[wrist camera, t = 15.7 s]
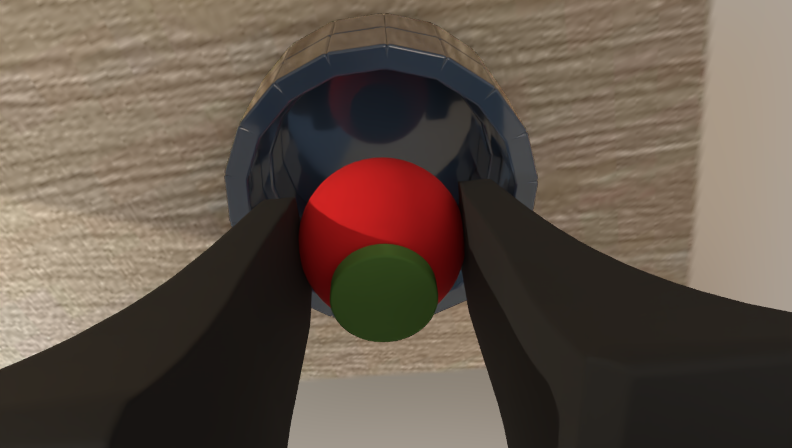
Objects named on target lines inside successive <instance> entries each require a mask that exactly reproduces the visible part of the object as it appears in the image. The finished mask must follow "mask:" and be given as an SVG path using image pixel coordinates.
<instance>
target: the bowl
mask: <svg viewBox="0 0 792 448" xmlns="http://www.w3.org/2000/svg"><path fill="white" fill-rule="evenodd" d="M383 157H385V158H395V159H400V160H404V161H407V162H410V163H413V164H415V165H417V166H419V167H421V168H423V169H425V170H427V171H428V172H430V173H431V174H433V175H434V176H435V177H436V178H437V179H438V180H440V181H441V182H442V183H443V185H444V186H445V187H446V188H447V189H448V191H449V192H450V193H451V195H452V196H453V198H454V199H455V201H456V203H457V205H458V208H459V191H458V182H459V181H470V180H480V179H491V180H493V181H494V182H495V183H497V184H498V185H499V186H501V187H502V188H503V189H504V190H506V191H507V192H508V193H509V194H511V195H512V196H513V197H515V198H516V199H517V200H519V201H520V202H521V203H522V204H524V205H525V206H527V207H528V208H529V209H531V210H532V211H533V208H534V203H535V197H536V191H537V185H538V181H537V179H538V175H537V171H536V167H535V162H534V158H533V153H532V149H531V144H530V140H529V135H528V133H527V131H526V128H525V126H524V125H523V123H522V121H521V120H520V118H519V116H518V115H517V113H516V112H515V110H514V108H513V107H512V105H511V103H510V102H509V100H508V98H507V97H506V95H505V94H504V92H503V90H502V89H501V87H500V85H499V84H498V83H497V81H496V80H495V78H494V77H493V76H492V74H491V73H490V71H489V70H488V68H487V67H486V66H485V64H484V63H483V61H482V60H481V59H480V57H479V56H478V54H477V53H476V52H475V51H473V49H472V48H471V47H469V46H468V45H466V44H465V43H463V42H461V41H460V40H458V39H457V38H455V37H454V36H452V35H451V34H449V33H448V32H446V31H445V30H443V29H442V28H440V27H439V26H437V25H433V24H432V23H430V22H426V21H421V20H416V19H412V18H407V17H403V16H398V15H393V14H389V13H385V14H382V13H379V14H373V15H366V16H360V17H353V18H346V19H340V20H337V21H335V22H334V21H332V22H330V23H328V24H326V25H325V26H323V27H321V28H319V29H318V30H316V31H314V32H312V33H311V34H309V35H307V36H305V37H304V38H302V39H300V40H298V41H297V42H295V43H293V44H292V46H291V47H289V48H288V49H287V50H286V52H285V53H284V54H283V55H282V57H281V58H280V59H279V60H278V62H277V63H276V64H275V65H274V67H273V68H272V69H271V70H270V72H269V73H268V74H267V75H266V77H265V78H264V79H263V81H262V83H261V85H260V86H259V88H258V90H257V92H256V94H255V96H254V98H253V99H252V101H251V103H250V105H249V107H248V108H247V110H246V112H245V114H244V116H243V118H242V119H241V121H240V123H239V125H238V127H237V130H236V134H235V137H234V141H233V144H232V148H231V151H230V155H229V158H228V162H227V165H226V168H225V176H224V179H225V188H226V196H227V204H228V213H229V220H230V222H231V226H232V227H233V226H234V225H236V224H237V223H238V222H239V221H240V220H241V219H242V218H243V217H244V216H245V215H246V214H248V213H249V212H250V211H251V210H252V209H253V208H254V207H255V206H257V205H258V204H259V203H260V202H262V201H263V200H268V199H279V198H289V197H295V198H296V203H297V208H298V213H299V218H300V221H301V218H302V215H303V212H304V210H305V207H306V205H307V203H308V201H309V199H310V197H311V196H312V195H313V193H314V192H315V191H316V189H317V188H318V186H319V185H320V184H321V183H322V182H323V181H324V180H325V179H326V178H328V177H329V176H330V175H332V174H333V173H334V172H336V171H337V170H339V169H341V168H342V167H344V166H346V165H349V164H351V163H353V162H356V161H360V160H363V159H370V158H383ZM466 300H467V298H466V293H465V287H464V281H463V275H462V269H461V270H460V273H459V275H458V278H457V280H456V281H455V283H454V285H453V286H452V288H451V289H450V291H449V292H448V293H447V295H446V296H445V297H444V298H443V299H442V300H441V301H440V302H439V303H438V304H437V308H436V311H435V313H434V314H436V313H438V312H441V311H443V310H445V309H448V308H450V307H452V306H455V305H457V304H459V303H462V302H464V301H466ZM311 308H313V309H315V310H317V311H319V312H322V313H324V314H326V315H328V316H333V317H334V315H333V312H332V310H331V308H330V307H329V306H328V305H327V304H326V303H324V302H323V301H322V299H321V298H320V297H319V296H318V295H317V294H316V292H315V291H314V290H313V288H312V301H311ZM334 318H335V317H334Z"/></svg>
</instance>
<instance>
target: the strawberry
mask: <svg viewBox="0 0 792 448" xmlns="http://www.w3.org/2000/svg"><path fill="white" fill-rule="evenodd" d="M299 253H300V259H301V264H302V268H303V271H304V273H305V275H306V278H307V280H308V282H309V284H310V285H311V287H312V288H313V290H314V291H315V292H316V294H317V295H318V296H319V297H320V298H321V299H322V301H323V302H324V303H326V304H327V305H328V306H329V307H330V308H331V310H332V312H333V315H334V317H335V318H336V320H337V321H338V323H339V324H340V325H341V326H342V327H343V328H344V329H345V330H347V331H348V332H349V333H351V334H353V335H355V336H357V337H359V338H362V339H365V340H368V341H374V342H392V341H398V340H402V339H405V338H407V337H410V336H412V335H414V334H415V333H417V332H419V331H420V330H421V329H422V328H424V327H425V326H426V325H427V324H428V323H429V321H430V320H431V318H432V317H433V315H434V313H435V311H436V308H437V304H438V303H439V302H440V301H441V300H442V299H443V298H444V297H445V296H446V295H447V293H448V292H449V291H450V289H451V288H452V286H453V285H454V283H455V281H456V280H457V278H458V275H459V273H460V270H461V267H462V264H463V261H464V255H465V251H464V233H463V224H462V218H461V213H460V210H459V208H458V205H457V203H456V201H455V199H454V198H453V196H452V195H451V193H450V192H449V191H448V189H447V188H446V187H445V186H444V185H443V183H442V182H441V181H440V180H438V179H437V178H436V177H435V176H434V175H433V174H431V173H430V172H428V171H427V170H425V169H423V168H421V167H419V166H417V165H415V164H413V163H410V162H407V161H404V160H400V159H395V158H385V157H383V158H370V159H363V160H360V161H356V162H353V163H351V164H349V165H346V166H344V167H342V168H341V169H339V170H337V171H336V172H334V173H333V174H332V175H330V176H329V177H328V178H326V179H325V180H324V181H323V182H322V183H321V184H320V185H319V186H318V188H317V189H316V191H315V192H314V193H313V195H312V196H311V197H310V199H309V201H308V203H307V205H306V207H305V210H304V212H303V215H302V218H301V221H300V226H299Z"/></svg>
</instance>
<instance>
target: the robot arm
mask: <svg viewBox="0 0 792 448" xmlns="http://www.w3.org/2000/svg"><path fill="white" fill-rule="evenodd" d="M458 191H459V210H460V213H461V218H462V224H463V233H464V251H465V255H464V261H463V264H462V267H461V269H462V275H463V281H464V287H465V293H466V298H467V304H468V309H469V314H470V317H471V320H472V323H473V327H474V330H475V333H476V336H477V339H478V343H479V346H480V349H481V352H482V355H483V358H484V361H485V365H486V368H487V371H488V374H489V377H490V380H491V383H492V386H493V390H494V393H495V396H496V399H497V402H498V406H499V409H500V413H501V417H502V421H503V425H504V429H505V434H506V439H507V444H508V448H792V312H787V311H782V310H777V309H772V308H767V307H762V306H757V305H751V304H747V303H744V302H739V301H736V300H732V299H728V298H725V297H721V296H717V295H714V294H710V293H706V292H702V291H699V290H696V289H693V288H690V287H686V286H683V285H680V284H677V283H674V282H671V281H668V280H666V279H663V278H660V277H658V276H655V275H652V274H649V273H647V272H644V271H641V270H639V269H636V268H634V267H632V266H629V265H627V264H624V263H622V262H620V261H618V260H616V259H614V258H612V257H610V256H608V255H605V254H603V253H601V252H599V251H597V250H595V249H593V248H591V247H589V246H587V245H586V244H584V243H582V242H580V241H578V240H577V239H575V238H573V237H572V236H570V235H568V234H567V233H565V232H563V231H562V230H560V229H558V228H557V227H555V226H554V225H552V224H551V223H549V222H548V221H546V220H545V219H543V218H542V217H540V216H539V215H538V214H536V213H535V212H533V211H532V210H531V209H529V208H528V207H527V206H525V205H524V204H522V203H521V202H520V201H519V200H517V199H516V198H515V197H513V196H512V195H511V194H509V193H508V192H507V191H506V190H504V189H503V188H502V187H501V186H499V185H498V184H497V183H495V182H494V181H493V180H491V179H480V180H470V181H459V182H458ZM299 226H300V218H299V213H298V208H297V203H296V198H295V197H289V198H279V199H268V200H263V201H262V202H260V203H259V204H258V205H257V206H255V207H254V208H253V209H252V210H251V211H250V212H249V213H248V214H246V215H245V216H244V217H243V218H242V219H241V220H240V221H239V222H238V223H237V224H236V225H234V226H233V227H232V228H231V229H230V230H229V231H228V232H227V233H226V234H224V235H223V236H222V237H221V238H220V239H219V240H218V241H217V242H215V243H214V244H213V245H212V246H211V247H210V248H209V249H207V250H206V251H205V252H204V253H202V254H201V255H200V256H199V257H197V258H196V259H195V260H194V261H192V262H191V263H190V264H189V265H187V266H186V267H185V268H184V269H182V270H181V271H180V272H179V273H177V274H176V275H175V276H173V277H172V278H171V279H169V280H168V281H167V282H165V283H164V284H162V285H161V286H159V287H158V288H156V289H155V290H153V291H152V292H150V293H149V294H147V295H146V296H144V297H143V298H141V299H140V300H138V301H136V302H135V303H133V304H132V305H130V306H128V307H127V308H125V309H123V310H122V311H120V312H118V313H116V314H114V315H113V316H111V317H109V318H107V319H105V320H103V321H102V322H100V323H98V324H96V325H94V326H92V327H90V328H89V329H87V330H85V331H83V332H81V333H79V334H78V335H76V336H74V337H72V338H70V339H68V340H66V341H63V342H61V343H59V344H57V345H55V346H53V347H51V348H49V349H46V350H44V351H42V352H40V353H38V354H35V355H33V356H31V357H28V358H26V359H24V360H21V361H19V362H17V363H14V364H12V365H10V366H7V367H5V368H2V369H0V448H287V446H288V438H289V432H290V425H291V419H292V414H293V409H294V405H295V400H296V394H297V390H298V384H299V380H300V375H301V370H302V365H303V360H304V355H305V350H306V344H307V339H308V334H309V329H310V318H311V301H312V287H311V285H310V284H309V282H308V280H307V278H306V275H305V273H304V271H303V268H302V264H301V259H300V253H299Z"/></svg>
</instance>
